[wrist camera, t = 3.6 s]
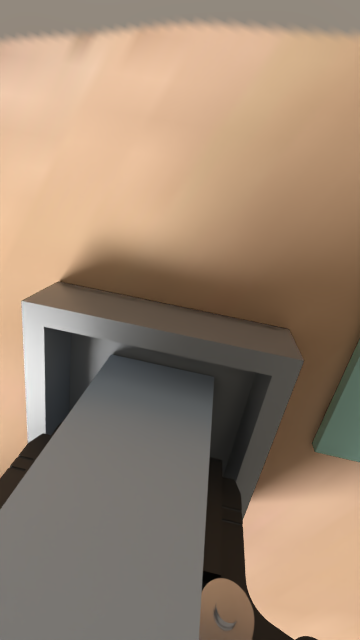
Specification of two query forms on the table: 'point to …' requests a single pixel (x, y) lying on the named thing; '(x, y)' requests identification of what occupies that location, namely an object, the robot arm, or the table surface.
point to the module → (113, 514)
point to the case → (162, 349)
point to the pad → (343, 416)
